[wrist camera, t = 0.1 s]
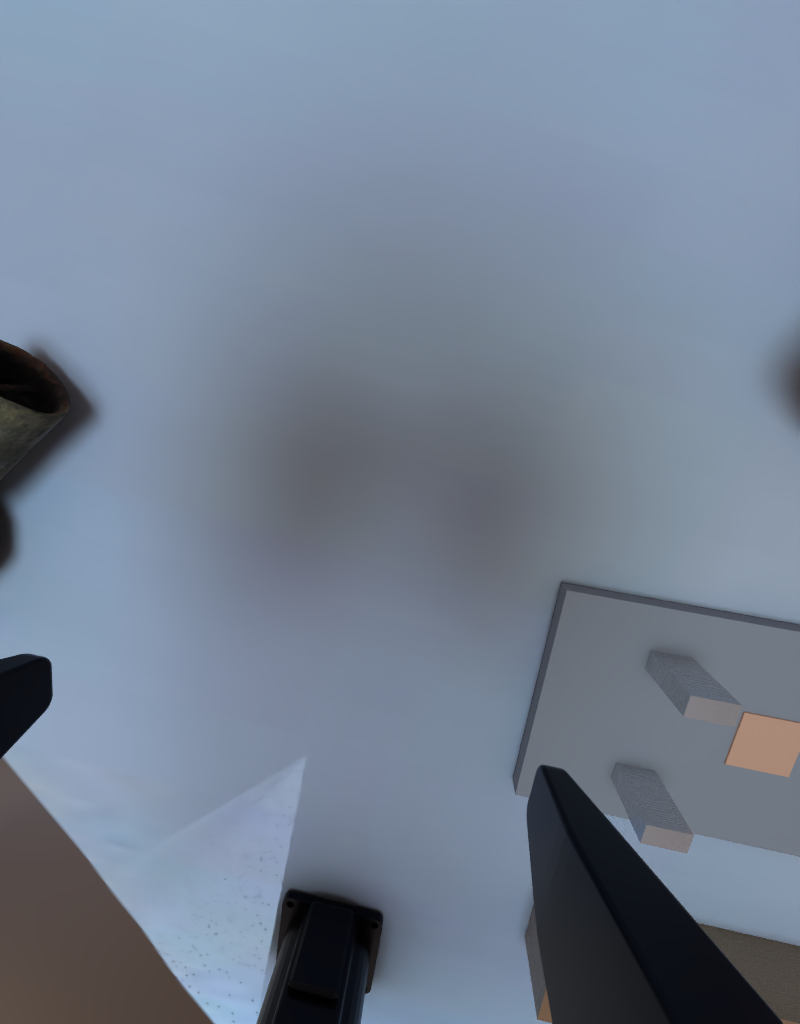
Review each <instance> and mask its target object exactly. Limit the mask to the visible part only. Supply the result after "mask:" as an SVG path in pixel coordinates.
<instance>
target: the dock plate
mask: <svg viewBox="0 0 800 1024" xmlns="http://www.w3.org/2000/svg"><path fill="white" fill-rule="evenodd" d="M650 650H652V651H658V652H663V653H668V654H674V655H679V656H684V657H690V658H694V659H695V660H696V661H697V662H698V663H699V664H700V665H701V666H702V667H703V668H704V669H705V670H706V671H707V672H708V673H709V674H710V675H711V676H712V677H713V678H714V679H715V680H717V681H718V682H719V683H720V684H721V685H722V686H723V687H724V688H725V689H726V690H727V691H728V692H729V693H730V694H731V695H732V696H733V697H734V698H735V699H736V700H737V701H738V702H739V703H740V704H741V705H743V706H742V709H741V712H740V714H739V717H738V720H737V722H736V725H735V727H732V726H727V725H722V724H717V723H712V722H707V721H702V720H697V719H692V718H687V717H683V716H682V714H681V713H680V712H679V711H678V709H677V708H676V707H675V706H674V704H673V703H672V702H671V701H670V699H669V698H668V697H667V696H666V694H665V693H664V692H663V691H662V689H661V688H660V687H659V686H658V684H657V683H656V682H655V681H654V679H653V678H652V677H651V676H650V674H649V673H648V672H647V671H646V669H645V666H646V663H647V660H648V656H649V653H650ZM616 762H617V763H622V764H627V765H632V766H636V767H641V768H646V769H651V770H655V771H656V772H657V774H658V776H659V777H660V779H661V781H662V782H663V784H664V786H665V787H666V789H667V791H668V792H669V794H670V796H671V797H672V799H673V801H674V802H675V804H676V806H677V808H678V809H679V811H680V813H681V814H682V816H683V818H684V819H685V821H686V823H687V824H688V826H689V828H690V829H691V831H692V833H694V834H699V835H703V836H708V837H713V838H717V839H722V840H726V841H731V842H735V843H740V844H745V845H749V846H754V847H758V848H763V849H767V850H772V851H776V852H781V853H786V854H790V855H795V856H799V857H800V625H797V624H791V623H785V622H780V621H774V620H769V619H763V618H757V617H752V616H746V615H741V614H735V613H729V612H724V611H718V610H712V609H707V608H701V607H696V606H690V605H684V604H679V603H673V602H667V601H662V600H656V599H651V598H645V597H639V596H634V595H628V594H623V593H617V592H611V591H606V590H600V589H594V588H589V587H583V586H578V585H572V584H566V583H561V587H560V591H559V595H558V599H557V603H556V607H555V611H554V615H553V619H552V623H551V627H550V631H549V635H548V639H547V643H546V647H545V651H544V655H543V659H542V663H541V667H540V671H539V675H538V679H537V683H536V687H535V691H534V696H533V700H532V704H531V708H530V712H529V716H528V720H527V724H526V728H525V732H524V736H523V740H522V744H521V748H520V752H519V756H518V760H517V764H516V768H515V772H514V776H513V784H514V789H515V794H516V795H521V796H525V797H529V796H530V792H531V789H532V785H533V781H534V777H535V774H536V770H537V768H538V767H539V766H540V765H548V766H553V767H558V768H562V769H564V770H565V771H566V772H567V773H568V774H569V775H570V776H571V777H572V778H573V779H574V781H575V782H576V783H577V784H578V785H579V786H580V788H581V789H582V790H583V791H584V792H585V793H586V795H587V796H588V797H589V798H590V799H591V800H592V801H593V803H594V804H595V805H596V806H597V807H598V808H599V810H600V811H601V812H602V813H603V814H607V815H612V816H617V817H621V818H626V819H629V817H628V815H627V813H626V811H625V808H624V806H623V804H622V802H621V800H620V797H619V795H618V793H617V791H616V789H615V786H614V784H613V782H612V780H611V776H612V772H613V769H614V766H615V763H616Z"/></svg>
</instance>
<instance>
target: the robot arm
mask: <svg viewBox="0 0 800 1024" xmlns="http://www.w3.org/2000/svg"><path fill="white" fill-rule="evenodd" d="M52 696H53V691H52V665H51V662H50V660H49V659H47V658H46V657H42V656H37V655H33V654H20V655H16V656H12V657H8V658H4V659H0V759H1V758H2V757H3V756H4V754H5V753H6V752H7V751H8V750H9V749H10V748H11V747H12V746H13V745H14V744H15V743H16V742H17V741H18V740H19V739H20V737H21V736H22V735H23V734H24V733H25V732H26V731H27V730H28V729H29V728H30V727H31V726H32V725H33V724H34V723H35V722H36V720H37V719H38V718H39V717H40V716H41V715H42V714H43V713H44V712H45V711H46V710H47V708H48V707H49V705H50V703H51V700H52ZM527 828H528V839H529V851H530V863H531V874H532V886H533V897H534V909H535V919H536V929H537V936H538V943H539V949H540V955H541V961H542V967H543V972H544V978H545V984H546V989H547V995H548V1001H549V1007H550V1012H551V1018H552V1024H783V1022H782V1021H781V1019H780V1018H779V1017H778V1016H777V1015H776V1014H775V1012H774V1011H773V1010H772V1009H771V1008H770V1007H769V1006H768V1004H767V1003H766V1002H765V1001H764V1000H763V999H762V997H761V996H760V995H759V994H758V993H757V992H756V990H755V989H754V988H753V987H752V986H751V985H750V983H749V982H748V981H747V980H746V979H745V978H744V977H743V975H742V974H741V973H740V972H739V971H738V970H737V968H736V967H735V966H734V965H733V964H732V963H731V961H730V960H729V959H728V958H727V957H726V956H725V955H724V953H723V952H722V951H721V950H720V949H719V948H718V946H717V945H716V944H715V943H714V942H713V941H712V939H711V938H710V937H709V936H708V935H707V934H706V932H705V931H704V930H703V929H702V928H701V927H700V926H699V924H698V923H697V922H696V921H695V920H694V919H693V917H692V916H691V915H690V914H689V913H688V912H687V910H686V909H685V908H684V907H683V906H682V905H681V903H680V902H679V901H678V900H677V899H676V898H675V897H674V895H673V894H672V893H671V892H670V891H669V890H668V888H667V887H666V886H665V885H664V884H663V883H662V881H661V880H660V879H659V878H658V877H657V876H656V875H655V873H654V872H653V871H652V870H651V869H650V868H649V866H648V865H647V864H646V863H645V862H644V861H643V859H642V858H641V857H640V856H639V855H638V854H637V852H636V851H635V850H634V849H633V848H632V847H631V846H630V844H629V843H628V842H627V841H626V840H625V839H624V837H623V836H622V835H621V834H620V833H619V832H618V830H617V829H616V828H615V827H614V826H613V825H612V824H611V822H610V821H609V820H608V819H607V818H606V817H605V815H604V814H603V813H602V812H601V811H600V810H599V808H598V807H597V806H596V805H595V804H594V803H593V801H592V800H591V799H590V798H589V797H588V796H587V795H586V793H585V792H584V791H583V790H582V789H581V788H580V786H579V785H578V784H577V783H576V782H575V781H574V779H573V778H572V777H571V776H570V775H569V774H568V773H567V772H566V771H565V770H564V769H562V768H558V767H553V766H548V765H540V766H539V767H538V768H537V770H536V774H535V777H534V781H533V785H532V789H531V792H530V796H529V800H528V805H527ZM382 925H383V917H382V915H381V914H379V913H377V912H373V911H369V910H365V909H361V908H357V907H353V906H349V905H345V904H341V903H337V902H333V901H329V900H325V899H321V898H317V897H313V896H309V895H305V894H300V893H296V892H291V891H290V892H287V893H286V895H285V897H284V900H283V905H282V914H281V923H280V931H279V940H278V949H277V958H276V964H275V967H274V971H273V974H272V977H271V980H270V983H269V986H268V989H267V992H266V996H265V999H264V1002H263V1005H262V1008H261V1011H260V1014H259V1017H258V1020H257V1024H361V1017H362V1010H363V1003H364V996H365V994H367V993H369V992H370V990H371V985H372V980H373V975H374V969H375V964H376V958H377V953H378V947H379V942H380V936H381V931H382Z"/></svg>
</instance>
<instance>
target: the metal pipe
mask: <svg viewBox="0 0 800 1024" xmlns="http://www.w3.org/2000/svg"><path fill="white" fill-rule="evenodd" d="M69 406H70V398H69V395H68V393H67V391H66V389H65V387H64V386H63V384H62V383H61V381H60V380H59V379H58V377H57V376H56V375H55V374H54V373H53V372H52V371H51V370H50V369H49V368H48V367H47V365H46V364H44V363H43V362H42V361H40V360H39V359H37V358H35V357H34V356H32V355H30V354H29V353H27V352H26V351H24V350H23V349H21V348H18V347H16V346H14V345H12V344H9V343H7V342H4V341H2V340H0V480H1V479H2V478H3V477H4V476H5V475H6V474H7V473H8V472H9V471H10V470H11V469H12V468H13V467H14V466H15V465H16V464H17V463H18V462H19V461H20V460H21V459H22V458H23V457H24V456H25V455H26V454H27V453H28V452H29V451H30V450H31V449H32V448H33V447H34V446H35V445H36V444H37V443H38V442H39V441H40V440H41V439H42V438H43V437H44V436H45V435H46V434H47V433H48V432H49V431H50V430H51V429H52V428H53V427H54V426H55V425H57V424H58V423H59V422H60V421H61V420H62V419H63V418H64V417H65V416H66V415H67V414H68V410H69Z"/></svg>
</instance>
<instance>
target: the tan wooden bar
mask: <svg viewBox="0 0 800 1024" xmlns="http://www.w3.org/2000/svg"><path fill="white" fill-rule="evenodd" d="M698 924H699V923H698ZM699 926H700V927H701V928H702V929H703V930H704V931H705V932H706V934H707V935H708V936H709V937H710V938H711V939H712V941H713V942H714V943H715V944H716V945H717V946H718V948H719V949H720V950H721V951H722V952H723V953H724V955H725V956H726V957H727V958H728V959H729V960H730V961H731V963H732V964H733V965H734V966H735V967H736V968H737V970H738V971H739V972H740V973H741V974H742V975H743V977H744V978H745V979H746V980H747V981H748V982H749V983H750V985H751V986H752V987H753V988H754V989H755V990H756V992H757V993H758V994H759V995H760V996H761V997H762V999H763V1000H764V1001H765V1002H766V1003H767V1004H768V1006H769V1007H770V1008H771V1009H772V1010H773V1011H774V1012H775V1014H776V1015H777V1016H778V1017H779V1018H780V1019H781V1021H782V1022H783V1024H800V946H796V945H792V944H787V943H783V942H778V941H774V940H770V939H765V938H761V937H756V936H752V935H748V934H743V933H739V932H734V931H730V930H726V929H721V928H717V927H712V926H708V925H704V924H699ZM525 941H526V948H527V954H528V961H529V968H530V975H531V981H532V988H533V995H534V1001H535V1008H536V1015H537V1019H538V1020H542V1021H546V1022H550V1023H552V1018H551V1012H550V1007H549V1001H548V995H547V989H546V984H545V978H544V972H543V967H542V961H541V955H540V949H539V943H538V936H537V929H536V919H535V909H534V905H533V908H532V912H531V916H530V919H529V923H528V927H527V930H526V934H525Z"/></svg>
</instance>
